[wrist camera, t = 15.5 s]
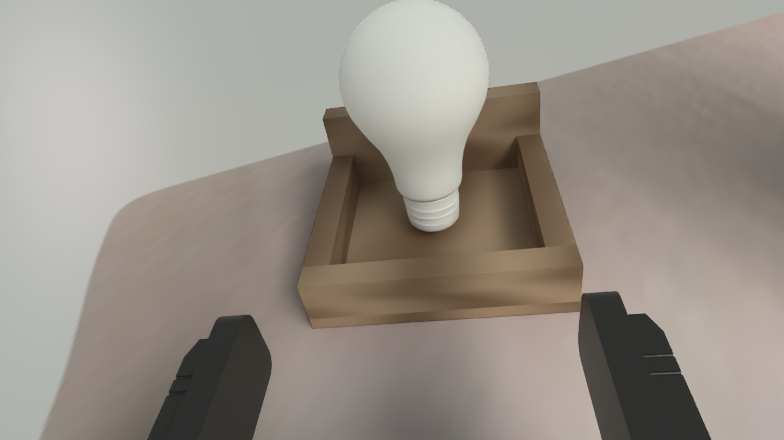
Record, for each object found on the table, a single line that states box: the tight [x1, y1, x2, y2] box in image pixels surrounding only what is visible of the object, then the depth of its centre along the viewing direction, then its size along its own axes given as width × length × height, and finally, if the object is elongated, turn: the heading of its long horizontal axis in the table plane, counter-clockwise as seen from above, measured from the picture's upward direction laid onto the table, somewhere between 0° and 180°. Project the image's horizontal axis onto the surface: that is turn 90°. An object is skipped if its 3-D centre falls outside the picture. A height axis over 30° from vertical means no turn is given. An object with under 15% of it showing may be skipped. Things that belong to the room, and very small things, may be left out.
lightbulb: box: [339, 0, 490, 232], centre depth 23 cm, size 6×6×11 cm
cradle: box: [297, 82, 583, 328], centre depth 25 cm, size 11×11×5 cm
